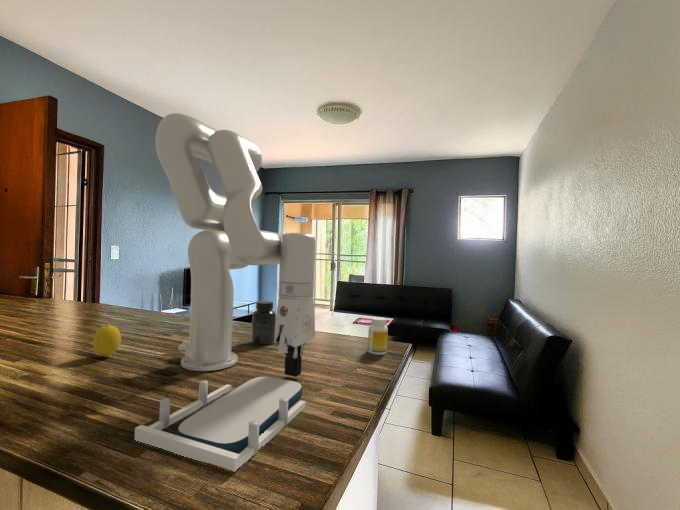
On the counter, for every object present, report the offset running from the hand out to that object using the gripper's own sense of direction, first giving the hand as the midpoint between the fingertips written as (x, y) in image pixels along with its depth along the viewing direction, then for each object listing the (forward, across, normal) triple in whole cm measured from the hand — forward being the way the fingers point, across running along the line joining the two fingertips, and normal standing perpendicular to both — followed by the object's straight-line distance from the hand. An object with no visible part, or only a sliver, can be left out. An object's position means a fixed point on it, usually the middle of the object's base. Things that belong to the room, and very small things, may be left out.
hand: (292, 374), depth 72 cm
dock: (+1, -21, -1) cm, 21 cm away
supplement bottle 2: (+1, +28, -11) cm, 30 cm away
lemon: (+1, -10, +46) cm, 47 cm away
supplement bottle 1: (+1, +20, +22) cm, 29 cm away
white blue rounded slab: (+2, -17, -1) cm, 17 cm away
